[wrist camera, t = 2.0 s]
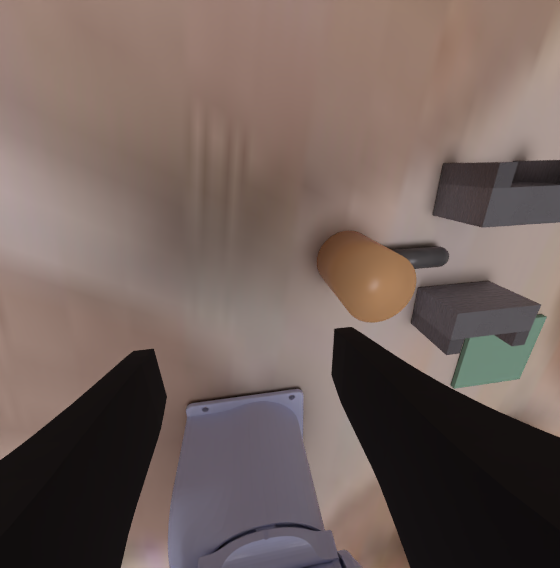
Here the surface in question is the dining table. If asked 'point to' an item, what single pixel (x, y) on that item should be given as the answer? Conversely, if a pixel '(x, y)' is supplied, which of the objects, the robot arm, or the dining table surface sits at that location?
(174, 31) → the dining table surface
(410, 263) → the plug
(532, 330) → the mat
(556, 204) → the channel
